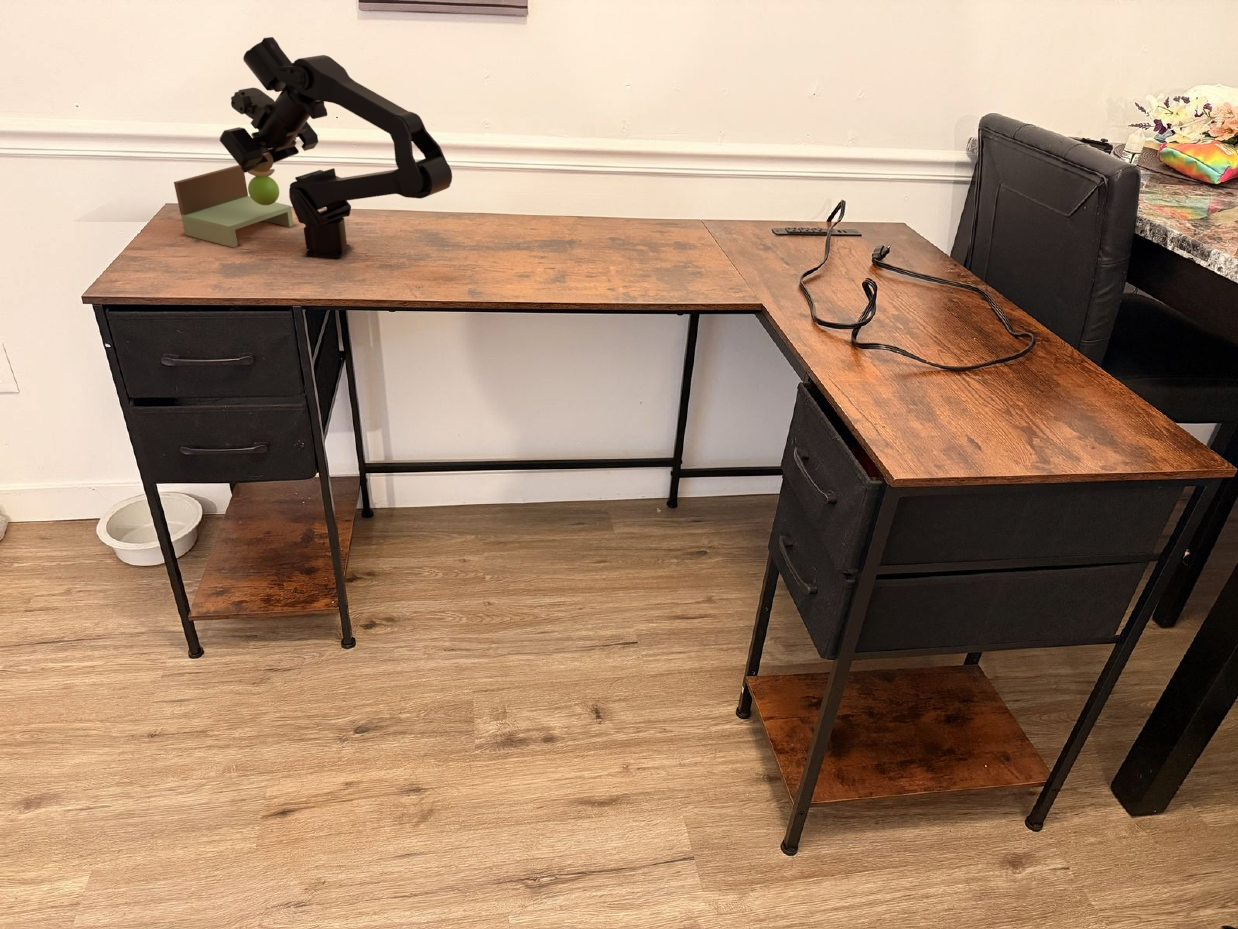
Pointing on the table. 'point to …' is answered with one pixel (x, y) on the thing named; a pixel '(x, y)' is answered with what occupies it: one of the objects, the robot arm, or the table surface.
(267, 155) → the snail figurine
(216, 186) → the bench with backrest
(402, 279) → the table surface
